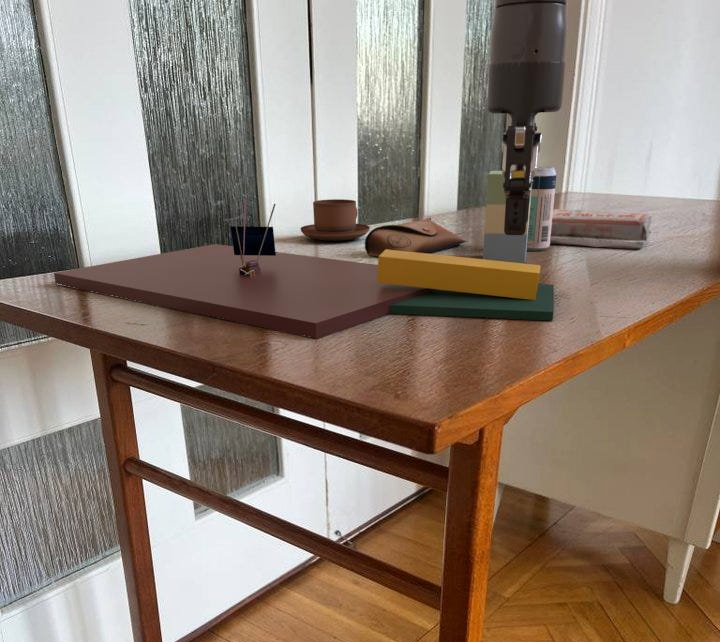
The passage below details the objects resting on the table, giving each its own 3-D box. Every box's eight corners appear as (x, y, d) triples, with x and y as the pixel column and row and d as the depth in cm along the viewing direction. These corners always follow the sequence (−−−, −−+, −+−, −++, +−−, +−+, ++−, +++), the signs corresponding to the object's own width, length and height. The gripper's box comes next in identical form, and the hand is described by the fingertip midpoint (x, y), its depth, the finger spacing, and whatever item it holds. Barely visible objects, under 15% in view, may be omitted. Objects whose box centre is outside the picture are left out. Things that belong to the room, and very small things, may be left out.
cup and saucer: (315, 233, 138) (314, 197, 135) (378, 235, 135) (378, 198, 132) (290, 243, 128) (288, 204, 125) (357, 245, 125) (356, 206, 122)
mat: (552, 292, 91) (553, 284, 91) (552, 321, 79) (553, 311, 79) (375, 286, 96) (375, 278, 95) (349, 312, 84) (349, 303, 83)
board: (55, 284, 99) (40, 202, 94) (215, 254, 119) (209, 185, 114) (316, 338, 74) (312, 230, 69) (463, 288, 94) (467, 201, 89)
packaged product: (655, 210, 123) (648, 218, 115) (651, 241, 125) (643, 250, 117) (546, 206, 130) (531, 212, 122) (543, 235, 133) (529, 243, 125)
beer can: (550, 246, 121) (557, 166, 116) (548, 251, 117) (556, 168, 112) (519, 246, 123) (526, 166, 117) (517, 250, 118) (523, 168, 113)
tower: (526, 256, 114) (533, 170, 109) (524, 263, 109) (532, 174, 103) (486, 255, 115) (491, 170, 110) (482, 262, 110) (488, 173, 105)
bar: (536, 291, 87) (540, 265, 85) (535, 300, 83) (539, 273, 82) (383, 274, 90) (385, 249, 89) (376, 282, 87) (378, 256, 85)
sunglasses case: (410, 257, 111) (391, 214, 110) (377, 277, 116) (358, 237, 115) (469, 241, 124) (453, 203, 123) (437, 260, 129) (421, 223, 128)
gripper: (566, 54, 68) (551, 239, 76) (564, 62, 81) (551, 220, 88) (483, 58, 70) (476, 239, 77) (494, 64, 82) (486, 220, 90)
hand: (516, 228), depth 83 cm, fingers open, 8 cm apart
